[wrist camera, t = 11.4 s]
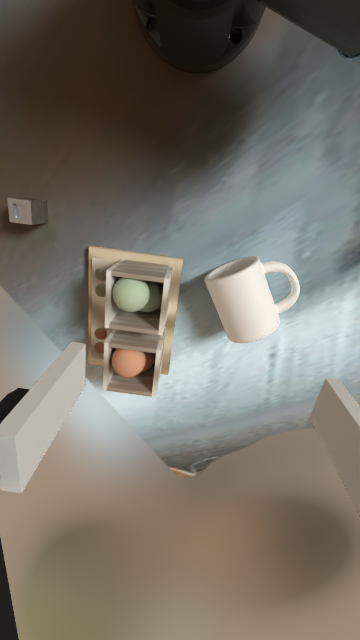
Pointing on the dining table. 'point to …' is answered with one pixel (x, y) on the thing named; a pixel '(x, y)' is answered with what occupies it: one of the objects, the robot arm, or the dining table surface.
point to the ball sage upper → (130, 294)
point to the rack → (131, 316)
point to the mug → (248, 297)
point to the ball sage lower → (153, 297)
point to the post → (27, 211)
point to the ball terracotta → (128, 362)
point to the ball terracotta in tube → (148, 360)
